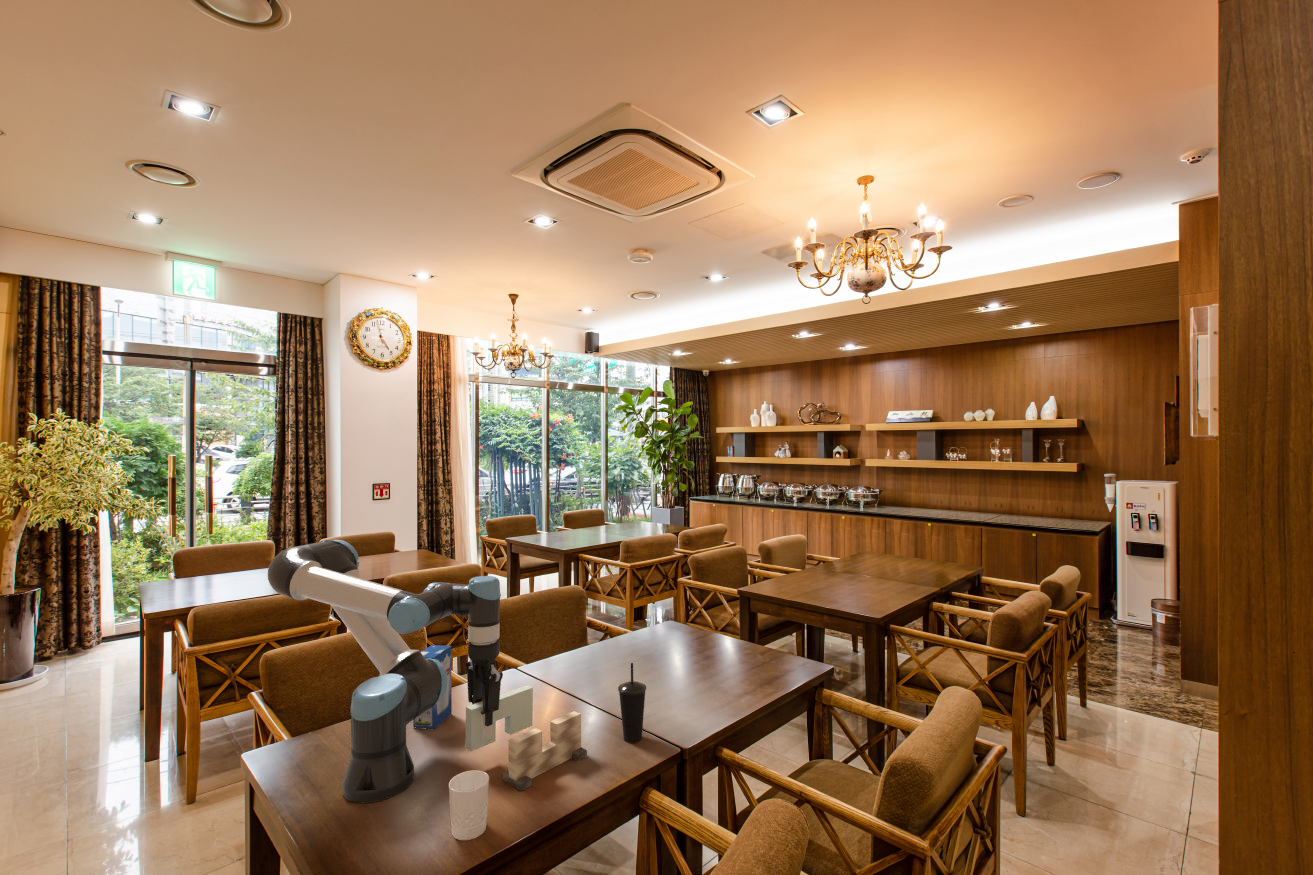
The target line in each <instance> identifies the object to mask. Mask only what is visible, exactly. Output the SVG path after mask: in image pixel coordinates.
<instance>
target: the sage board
mask: <svg viewBox="0 0 1313 875" xmlns="http://www.w3.org/2000/svg"><path fill="white" fill-rule="evenodd" d="M533 692H534V687H532V686H531V685H527V684H526V685H523V686H521V687H518V688H515V689H512V690H509V691H506V692H504V693H500V699H499V709H498V710H497V711H494V712H493V724H492V737H489V738H487V739H484V740H481V711H483V701H481V702H478V703H475V704H473V705H472V704H470V705H467V706H465V749H467V751H469V752H473V751H475V750H478V749H481V748H483V747H486V746H488V745H490V744H492V743H495V742H496V741H497V740H496V737H497V736H496V731H497V730H496V729H497V728H496V727H497V726H496V724H497V723H496V722H497V721H500V720H503V719H504V732H505V733H506V734H508V735H510V736H512V735H513V734H515V733H516V734H517V733H519V732H521V731H523V730H525V729H528V728H530V727H533V719H534V718H533V716H534V715H533V710H534V709H533V707H534V706H533V705H534V704H533V703H534V698H533V696H534V694H533Z"/></svg>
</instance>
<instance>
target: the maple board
mask: <svg viewBox="0 0 1313 875" xmlns="http://www.w3.org/2000/svg"><path fill="white" fill-rule="evenodd" d="M549 724H550V725H549V726H550V741H549V742H548V743H546V744H543V730H541V729H539V728H537V727H535V728H532V729H530V730H528V731H526V732H523V733H521V734H519V735H516V736H514V737H512V738H510V739H509V738H508V740H507V741H508V770H507V771H505V772H503V773H502V776H503V777H502V780H503V781H505V782H506V783H508V784H509V785H510V786H513V787H514V788H515V789H517V790H518V791H520V792H522V791H523V790H525V789H527V788H529V787H531V786H532V785H533V784H532V783H533V782H532V779H534V778H536V777H539V776H540V775H541V774H544V773H546V772H547V771H549V770H551V769H553V768H555V767H557V766H559V765H561V764H564V763H565V762H567V761H569V760H571V759H574V760H575V761H577V762H579V761H580V760H582V759H584V758H586V757H588V750H587V749H586V748H583V747H582V713H580V712H578V711H575V710H573V711H571V712H569V713H566V714H563V715H562V716H560V717H557V718H555V719H553V720H550V722H549Z"/></svg>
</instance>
